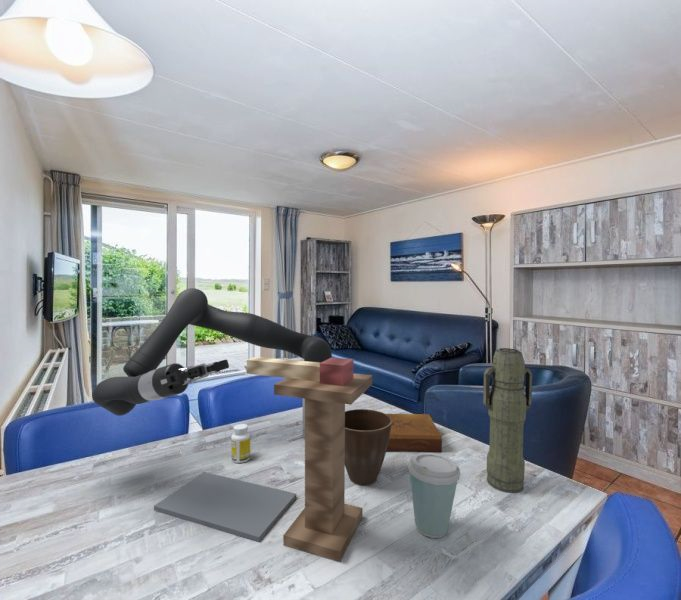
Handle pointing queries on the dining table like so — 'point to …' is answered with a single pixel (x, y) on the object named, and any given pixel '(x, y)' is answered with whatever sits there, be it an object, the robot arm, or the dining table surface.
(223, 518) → the mat
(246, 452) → the supplement bottle
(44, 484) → the dining table surface
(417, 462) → the disposable coffee cup
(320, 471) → the brown tall pedestal shape
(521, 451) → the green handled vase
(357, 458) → the plant pot
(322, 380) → the bar
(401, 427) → the diary
